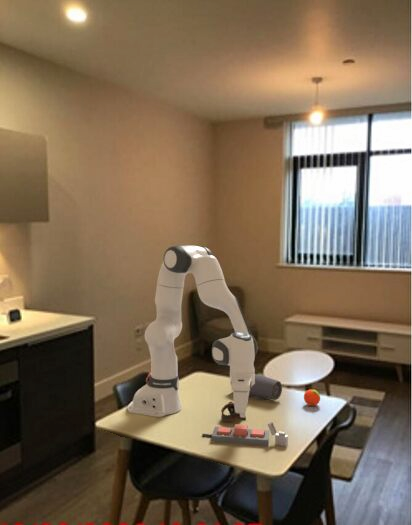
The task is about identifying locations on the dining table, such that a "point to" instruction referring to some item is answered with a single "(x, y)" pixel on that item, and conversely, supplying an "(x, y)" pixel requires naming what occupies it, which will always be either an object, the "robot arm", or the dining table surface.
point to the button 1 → (224, 431)
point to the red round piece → (311, 397)
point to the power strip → (239, 438)
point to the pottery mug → (232, 412)
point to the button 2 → (240, 430)
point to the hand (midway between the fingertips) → (242, 416)
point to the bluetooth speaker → (265, 388)
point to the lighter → (278, 435)
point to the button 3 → (257, 433)
